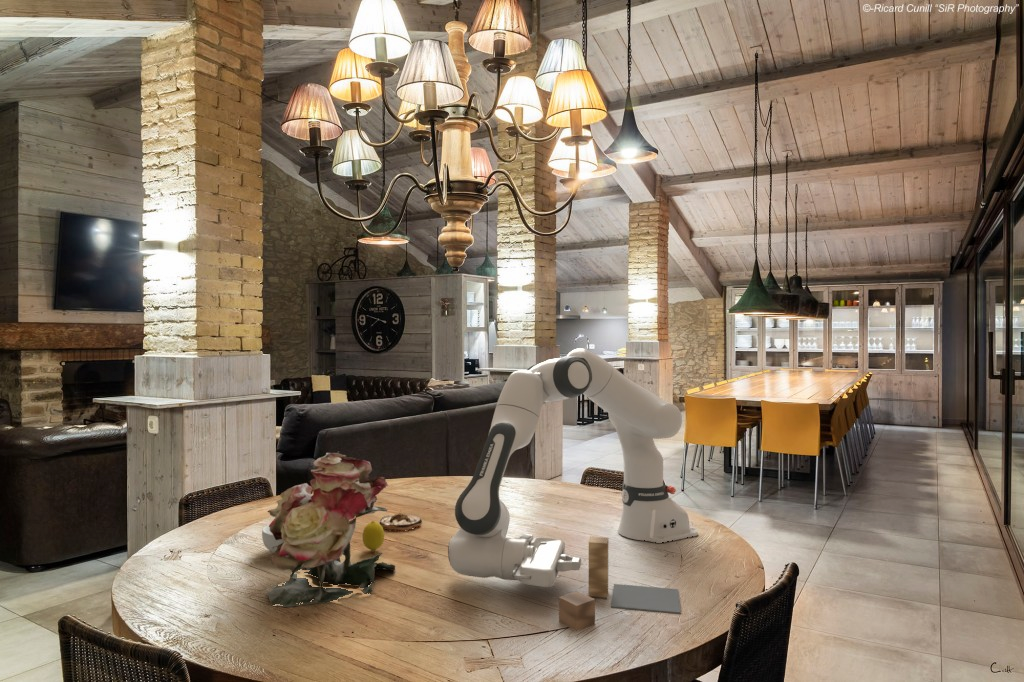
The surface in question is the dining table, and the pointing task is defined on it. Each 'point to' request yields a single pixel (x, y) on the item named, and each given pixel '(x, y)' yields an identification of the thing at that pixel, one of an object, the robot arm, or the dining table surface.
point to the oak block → (598, 567)
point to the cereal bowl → (270, 540)
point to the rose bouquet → (324, 531)
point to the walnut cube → (577, 610)
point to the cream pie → (400, 522)
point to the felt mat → (646, 598)
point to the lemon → (373, 536)
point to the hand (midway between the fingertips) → (580, 564)
